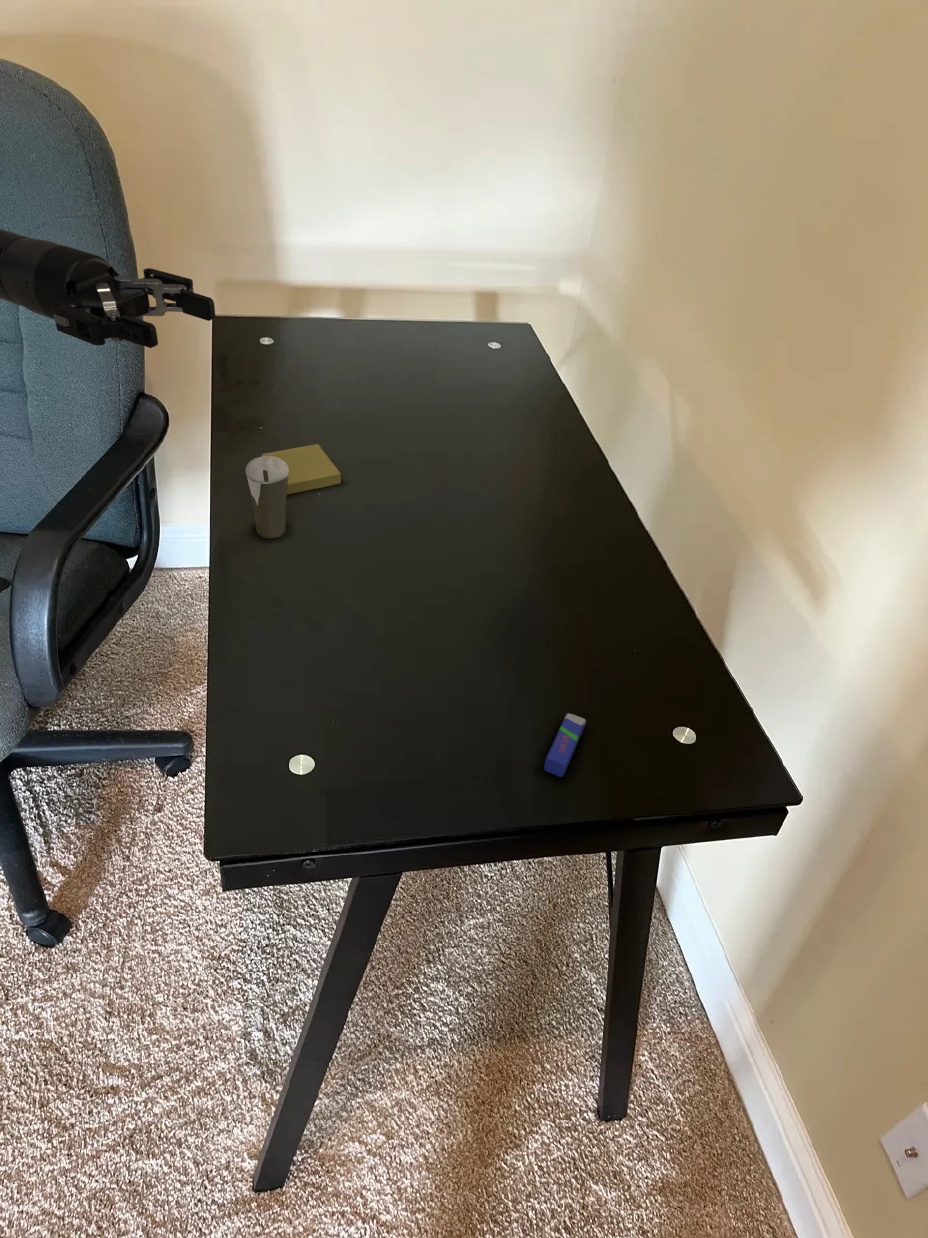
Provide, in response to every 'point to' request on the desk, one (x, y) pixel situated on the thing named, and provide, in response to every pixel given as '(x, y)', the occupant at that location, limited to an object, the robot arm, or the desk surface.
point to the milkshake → (268, 494)
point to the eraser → (564, 745)
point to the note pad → (308, 468)
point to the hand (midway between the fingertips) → (184, 323)
